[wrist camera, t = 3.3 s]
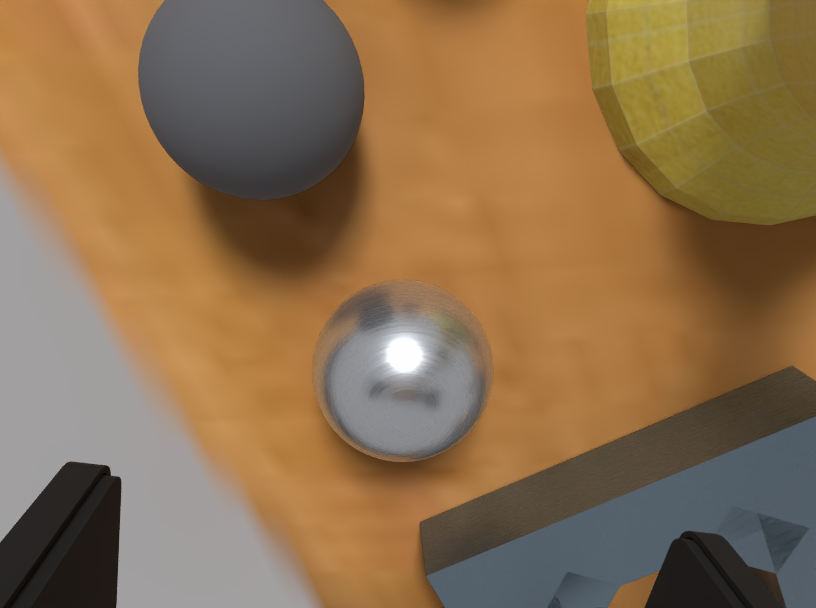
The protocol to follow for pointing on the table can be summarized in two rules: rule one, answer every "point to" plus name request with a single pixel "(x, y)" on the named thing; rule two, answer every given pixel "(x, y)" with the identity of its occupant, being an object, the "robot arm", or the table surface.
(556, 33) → the table surface
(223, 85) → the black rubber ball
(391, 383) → the steel ball
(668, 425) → the housing plate
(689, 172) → the handbell
